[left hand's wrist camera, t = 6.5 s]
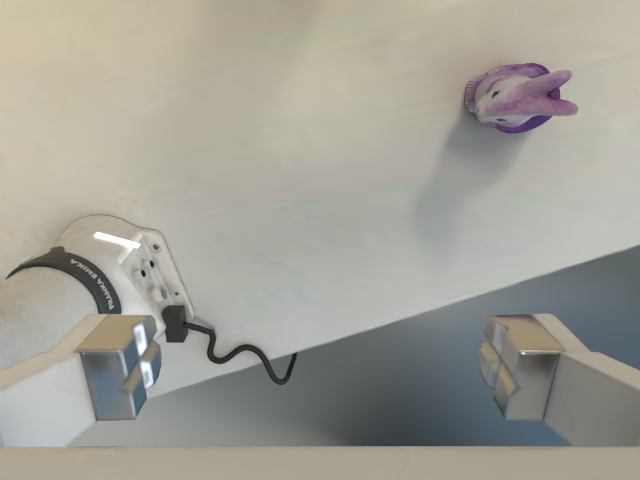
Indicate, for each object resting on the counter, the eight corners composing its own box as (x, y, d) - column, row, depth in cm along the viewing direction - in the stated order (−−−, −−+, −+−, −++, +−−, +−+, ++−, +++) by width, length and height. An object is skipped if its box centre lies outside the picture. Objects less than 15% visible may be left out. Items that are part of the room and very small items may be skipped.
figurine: (444, 100, 54) (488, 107, 40) (510, 40, 51) (582, 25, 37) (486, 153, 56) (542, 178, 42) (551, 99, 54) (634, 105, 40)
